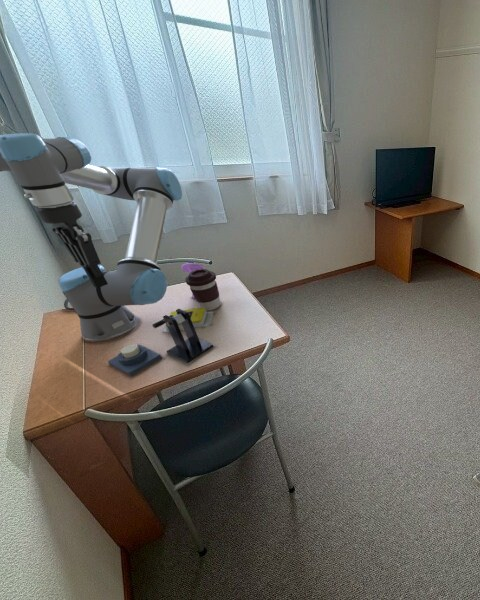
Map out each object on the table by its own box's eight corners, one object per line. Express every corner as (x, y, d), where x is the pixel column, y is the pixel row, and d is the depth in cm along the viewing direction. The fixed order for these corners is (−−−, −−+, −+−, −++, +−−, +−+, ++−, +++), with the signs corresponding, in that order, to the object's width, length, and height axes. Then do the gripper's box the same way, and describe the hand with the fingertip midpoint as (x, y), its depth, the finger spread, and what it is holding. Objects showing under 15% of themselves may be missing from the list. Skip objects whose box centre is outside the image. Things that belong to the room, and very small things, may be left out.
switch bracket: (167, 354, 102) (149, 317, 94) (194, 339, 109) (179, 303, 101) (188, 364, 98) (171, 326, 91) (214, 348, 105) (200, 311, 98)
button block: (110, 365, 97) (104, 356, 95) (141, 348, 104) (136, 339, 102) (131, 377, 93) (126, 368, 91) (162, 359, 100) (157, 349, 98)
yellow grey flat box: (165, 309, 116) (210, 303, 120) (169, 319, 118) (214, 312, 123) (157, 323, 109) (206, 316, 113) (162, 334, 111) (210, 326, 115)
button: (121, 355, 96) (117, 350, 95) (135, 348, 99) (132, 342, 98) (128, 359, 95) (125, 354, 94) (142, 351, 98) (140, 346, 97)
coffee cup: (191, 307, 125) (178, 273, 117) (216, 297, 132) (205, 264, 124) (204, 316, 120) (192, 281, 112) (229, 305, 127) (219, 271, 119)
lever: (155, 329, 101) (150, 323, 100) (173, 320, 105) (169, 313, 104) (172, 327, 94) (167, 320, 93) (191, 317, 99) (186, 310, 98)
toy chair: (217, 286, 139) (207, 255, 131) (210, 297, 132) (199, 264, 124) (197, 287, 138) (186, 256, 130) (189, 298, 131) (176, 265, 123)
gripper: (21, 204, 78) (72, 286, 91) (50, 212, 74) (100, 297, 87) (58, 196, 84) (102, 274, 97) (87, 204, 79) (129, 284, 92)
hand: (101, 285), depth 92 cm, fingers closed
